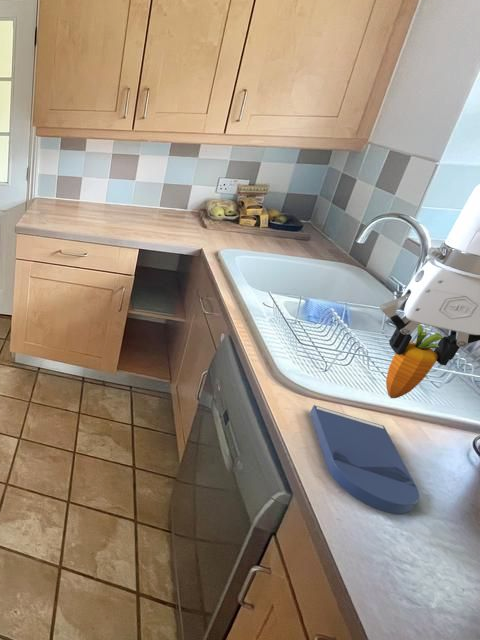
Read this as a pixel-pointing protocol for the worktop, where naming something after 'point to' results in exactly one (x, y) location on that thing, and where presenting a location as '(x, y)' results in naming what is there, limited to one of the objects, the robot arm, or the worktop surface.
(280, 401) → the worktop surface
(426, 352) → the carrot
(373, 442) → the board
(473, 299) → the robot arm
